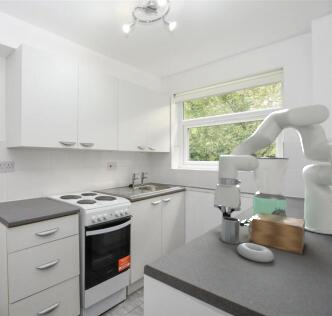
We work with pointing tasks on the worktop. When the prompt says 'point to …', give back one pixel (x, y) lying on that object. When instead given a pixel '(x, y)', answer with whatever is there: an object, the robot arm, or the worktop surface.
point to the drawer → (244, 223)
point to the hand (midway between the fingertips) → (226, 221)
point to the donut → (255, 252)
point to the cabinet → (279, 232)
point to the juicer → (270, 186)
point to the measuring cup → (230, 230)
